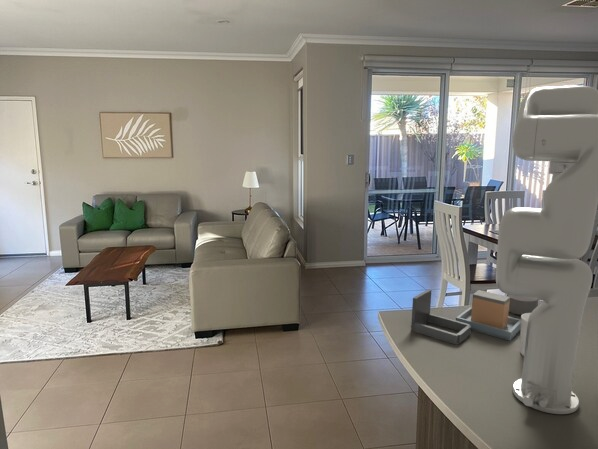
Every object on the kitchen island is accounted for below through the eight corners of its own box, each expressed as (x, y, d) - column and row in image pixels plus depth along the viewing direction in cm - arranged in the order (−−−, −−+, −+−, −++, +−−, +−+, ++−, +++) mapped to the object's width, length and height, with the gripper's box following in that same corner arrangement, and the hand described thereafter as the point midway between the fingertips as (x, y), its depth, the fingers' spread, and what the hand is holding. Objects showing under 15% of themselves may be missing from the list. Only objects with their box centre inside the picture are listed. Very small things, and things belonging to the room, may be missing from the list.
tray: (510, 340, 123) (510, 332, 123) (455, 325, 133) (455, 317, 133) (522, 327, 132) (523, 320, 131) (469, 314, 142) (470, 306, 141)
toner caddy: (501, 331, 128) (504, 301, 126) (470, 322, 133) (472, 294, 132) (507, 325, 131) (510, 297, 130) (476, 317, 137) (479, 290, 135)
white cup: (555, 354, 116) (559, 318, 114) (546, 365, 110) (551, 327, 108) (522, 344, 121) (526, 310, 119) (513, 354, 115) (517, 318, 113)
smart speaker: (535, 321, 137) (540, 277, 134) (502, 314, 142) (507, 272, 139) (537, 311, 145) (542, 270, 142) (507, 305, 150) (511, 265, 147)
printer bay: (458, 345, 121) (460, 310, 119) (411, 330, 130) (412, 297, 128) (471, 333, 128) (474, 300, 126) (426, 320, 137) (428, 289, 135)
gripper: (574, 171, 110) (566, 238, 113) (587, 167, 123) (579, 228, 126) (541, 169, 115) (534, 234, 118) (556, 166, 128) (550, 224, 131)
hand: (557, 231), depth 122 cm, fingers open, 9 cm apart
